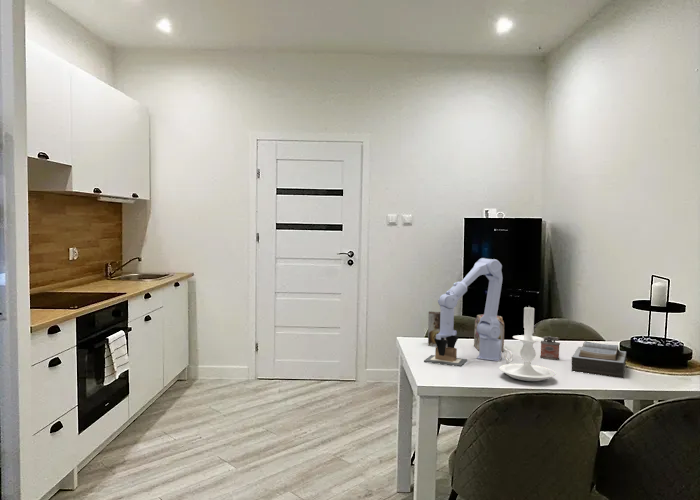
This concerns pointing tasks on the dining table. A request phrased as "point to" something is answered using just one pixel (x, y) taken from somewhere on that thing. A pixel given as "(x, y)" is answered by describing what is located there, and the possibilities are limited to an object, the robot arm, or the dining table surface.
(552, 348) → the lighter
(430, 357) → the picture frame
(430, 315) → the coffee box
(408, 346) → the dining table surface
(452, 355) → the card box
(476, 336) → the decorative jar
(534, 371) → the candlestick
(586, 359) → the bible
